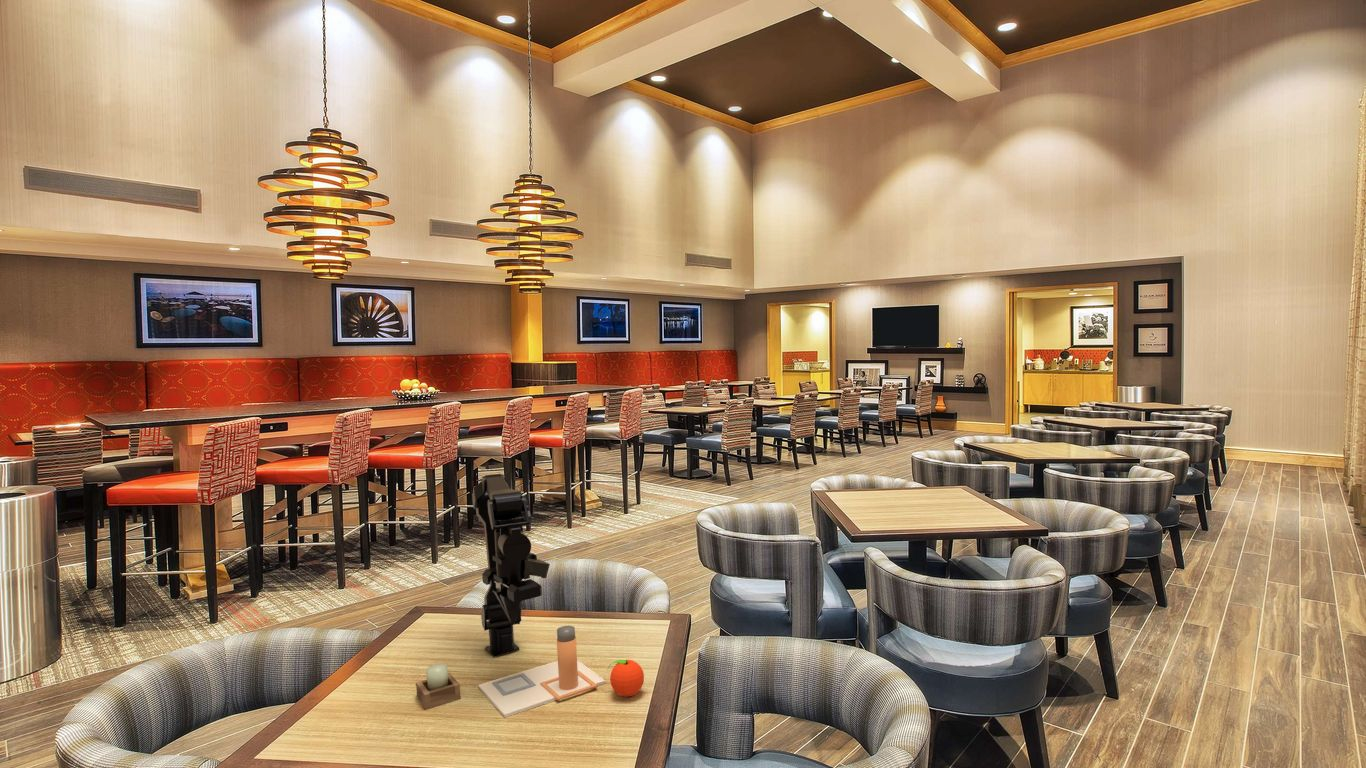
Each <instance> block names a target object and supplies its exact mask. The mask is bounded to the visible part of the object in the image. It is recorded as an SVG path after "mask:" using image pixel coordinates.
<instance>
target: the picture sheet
mask: <svg viewBox="0 0 1366 768" xmlns="http://www.w3.org/2000/svg"><path fill="white" fill-rule="evenodd" d="M577 668H578V686H577V687H576V688H574V689H571V690H562V689H560V688H559V675H558V660H556V661H552V662H549V663H546V664H543V665H539V666H536V667H532V668H530V669H526V670H523V671H519V672H516V673H513V674H510V675H509V674H508V675H507V676H503V677H500V678H496V679H493V680H490V681H487V682H484V683H480V684H477V686H478V687H477V688H478V689H479V691H480V692H482V694H483V695H484V696H485V697H486V698H487V700H489V702H490V703H491V704H492V705H493V706H494V707H495V708H496V709H497V711H498V712H499V713H500V714H501V715H502V717H504V718H508V717H511V716H513V715H516V714H519V713H522V712H525V711H528V710H530V709H534V708H537V707H540V706H542V705H543V706H544V705H545V704H549V703H552V702H554V701H560V700H564V699H565V698H569V697H572V696H575V695H578V694H580V693H584V692H586V691H590V690H592V689H595V688H598V687H599V686H603V685H605V684H606V680H605V679H603V678H602V677H601V676H600V675H598V674H597V673H596V672H594V671H593V670H591V669H590V668H589V667H588V666H586V665H585V664H584V663H582V662H581V661H580V660H579V659H577Z"/></svg>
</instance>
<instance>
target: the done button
mask: <svg viewBox="0 0 1366 768" xmlns="http://www.w3.org/2000/svg"><path fill="white" fill-rule="evenodd" d="M426 680H427V685H428V690H429V691H432V690H436V689H439V688H442V687H446V686H448V664H445V663H436V664H433V665H430V666H428V667H427V668H426Z"/></svg>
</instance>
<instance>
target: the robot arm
mask: <svg viewBox="0 0 1366 768" xmlns="http://www.w3.org/2000/svg"><path fill="white" fill-rule="evenodd" d="M471 497H472V500H471V501H472V506H473V507H472V508H473V509H474V510H475V513H476V517H477V518H478V519H479V521H480V522H481V523H482V524H483V527H484V536H485V537H484V538H485V549H486V558H487V561H486V562H487V569H485V570H484V571H483V573H481V577H482V579H481V580H482V583H483V584H484V585H486V586H488V585H489V587H488V589H487V591H486V593H485V595H484V598H483V601H484V604H482V607H481V615H480V618H481V625H482V628H483V631H484V632H485V631H488V637H489V638H488V639H489V645H486V646H485V647H484V650H486V651H487V653H488V654H490V655H491V656H492V657H493V658H495V657H500V656H502V655H507V654H510V653H514V652H517V651H520V646H518V645H517V644H516V643H515V636H514V635H515V634H514V625H521V622H522V609H523V604H522V601H523V602H524V601H526V600H531V599H534V598H538V597H542V595H543V587H542V585H541V584H539V583H538V582H537V581H535V580H533V579H531V576H533V577H540V578H541V579H547V576H548V573H549V569H550V566H551V564H550V563H549V562H546V561H545V560H541V559H538V558H537V557H538V556H537V554H535V553H533V552H531V550H532V543H531V540H530V539H529V537H528V536H527V535H526V534H525V532H524V528H523V527H525V526H530V525H531V524H530V520H531V519H532V516H531V511H530V506H529V503H528V502H529V501H528V500H527V498H526V496H525V495H523V494H522V492H521V491H520V490H519V489H511V488H510V486H509V483H508V482H507V481H506V479H505V475H504V473H503V474H501V473H494V474H493V473H492V474H485V475H484V476H482V477H481V481H479V483H477V484H476V485H475V486H474V487H473V488H472V496H471Z"/></svg>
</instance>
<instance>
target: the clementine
mask: <svg viewBox="0 0 1366 768" xmlns="http://www.w3.org/2000/svg"><path fill="white" fill-rule="evenodd" d="M613 664H615V665H614V666H613V668H612V669H611V672H610V675H609V676H610V677H609V681H610V685H611V688H612V690H613V691H614V692H615V693H616V694H617V695H619V696H621V697H625V698H626V697H632V696H635V695H636V694H638V693H639V691H641V689H642V687H643V685H644V681H645V680H644V679H645V673H644V671H643V668H642V667H641V665H640V664H639V663H638V662H636V661H634V660H632V659H618V660H615V661H613V662H612V663H610V664H609V666H608V667H607V671H608V670H609V668H610V666H611V665H613Z"/></svg>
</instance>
